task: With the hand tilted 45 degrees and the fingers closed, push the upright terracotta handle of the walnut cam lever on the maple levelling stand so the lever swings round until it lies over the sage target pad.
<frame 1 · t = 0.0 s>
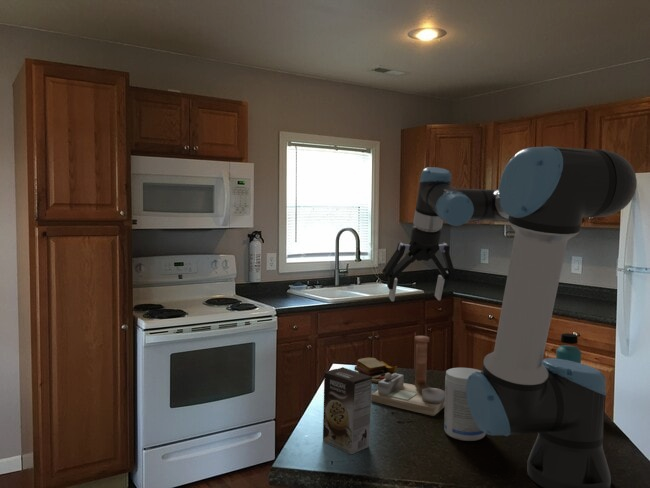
hand: (414, 298, 151), 28 cm above the counter, tool tilted 20°, fingers open, 13 cm apart
toy sandwich meal: (375, 378, 171), on the counter
stand: (412, 400, 150), on the counter
supplement tub: (464, 434, 129), on the counter
coffee box: (345, 445, 122), on the counter
lever: (428, 367, 149), point 10 cm above the counter, hinge at 45.0°
beverage bottle: (565, 408, 148), on the counter
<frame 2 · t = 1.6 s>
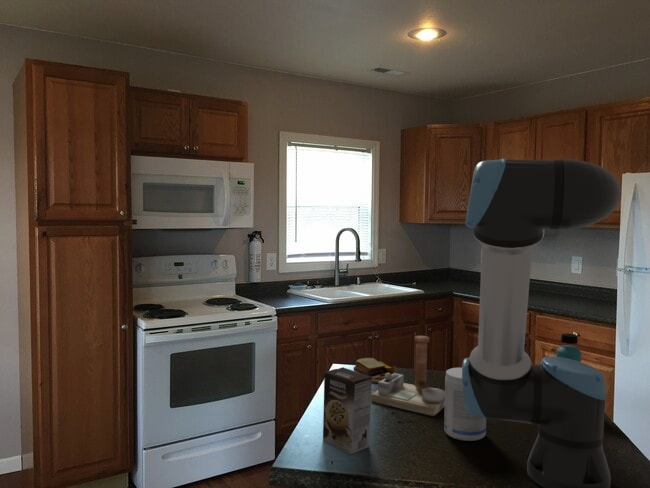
hand: (499, 316, 142), 25 cm above the counter, tool pointing down, fingers open, 8 cm apart
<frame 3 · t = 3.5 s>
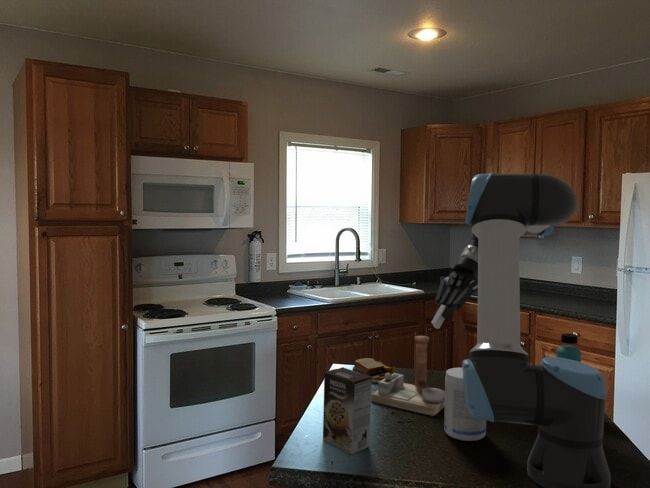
hand: (435, 325, 157), 19 cm above the counter, tool tilted 45°, fingers closed
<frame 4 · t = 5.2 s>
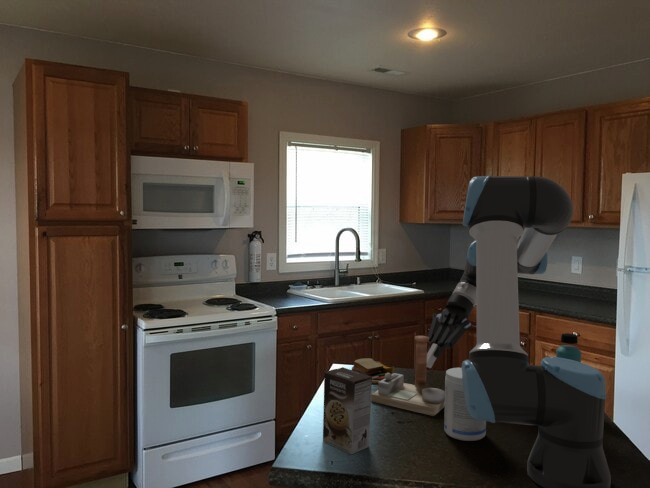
hand: (426, 365, 155), 8 cm above the counter, tool tilted 45°, fingers closed
lever: (428, 367, 149), point 10 cm above the counter, hinge at 45.2°, touching gripper
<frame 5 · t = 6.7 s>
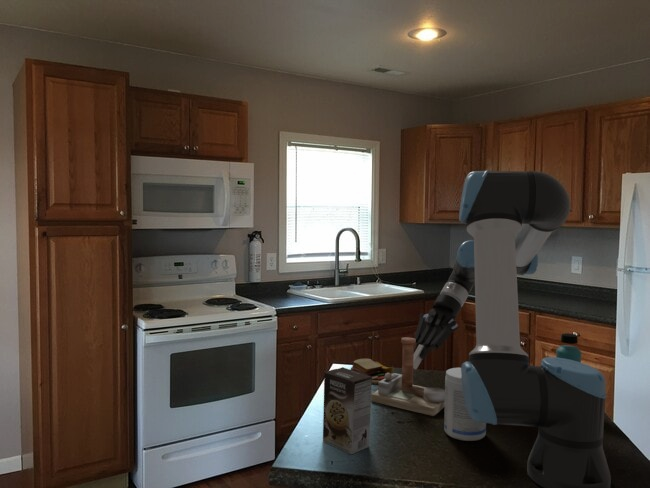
hand: (412, 366, 153), 9 cm above the counter, tool tilted 45°, fingers closed
lever: (423, 368, 148), point 10 cm above the counter, hinge at 79.5°, touching gripper
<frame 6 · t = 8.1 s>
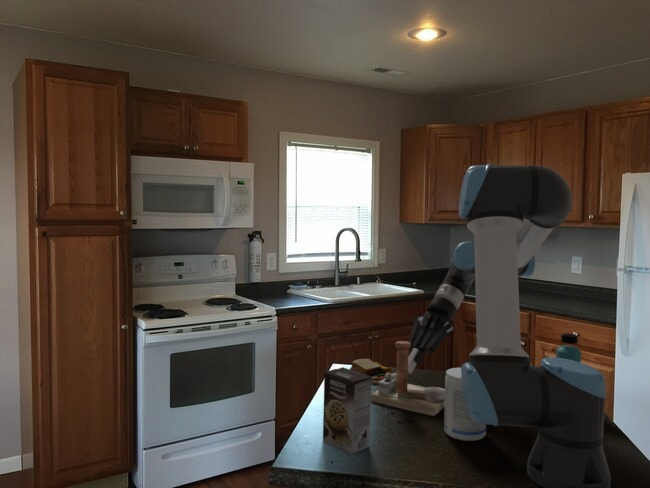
hand: (406, 370, 149), 9 cm above the counter, tool tilted 45°, fingers closed
lever: (421, 370, 146), point 10 cm above the counter, hinge at 113.9°, touching gripper
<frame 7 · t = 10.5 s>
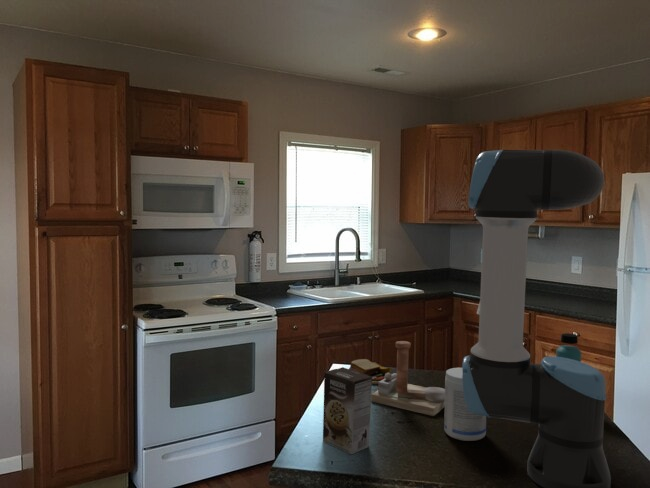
hand: (482, 315, 148), 24 cm above the counter, tool tilted 25°, fingers closed
lever: (421, 370, 146), point 10 cm above the counter, hinge at 114.0°
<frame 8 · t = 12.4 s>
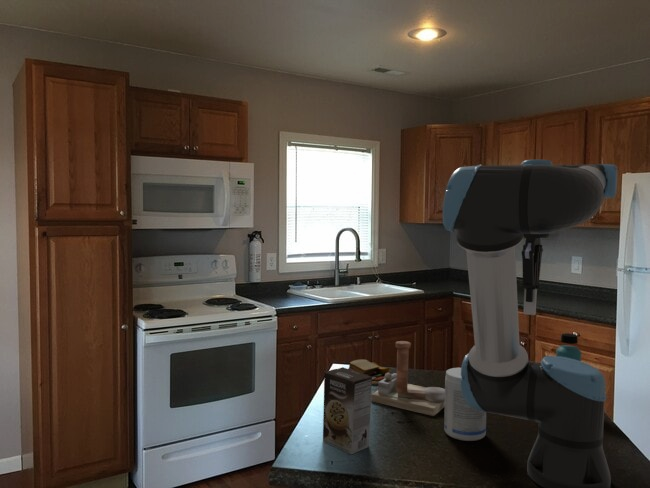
hand: (529, 313, 140), 26 cm above the counter, tool pointing down, fingers closed
at the end: lever at +114° (first picture: +45°) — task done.
